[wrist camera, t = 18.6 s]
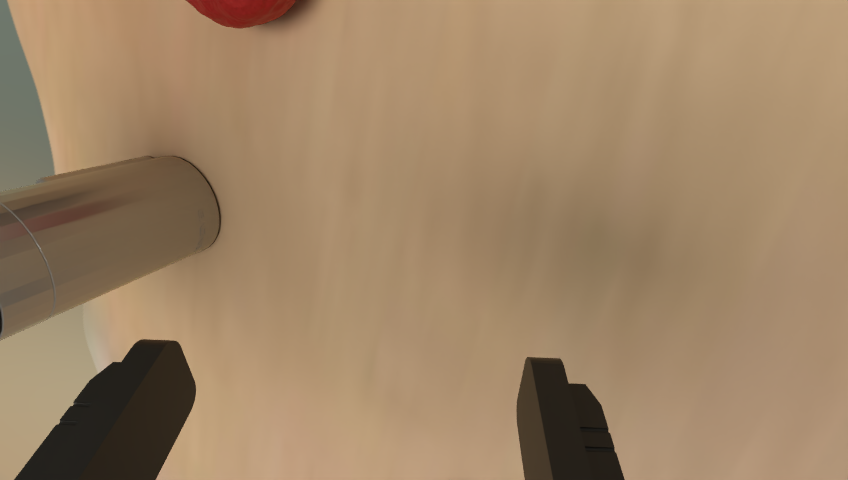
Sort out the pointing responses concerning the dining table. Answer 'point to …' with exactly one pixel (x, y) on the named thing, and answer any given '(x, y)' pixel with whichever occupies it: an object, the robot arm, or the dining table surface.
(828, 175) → the dining table surface
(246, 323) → the dining table surface
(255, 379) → the dining table surface
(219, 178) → the dining table surface
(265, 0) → the red tomato sculpture
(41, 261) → the robot arm
